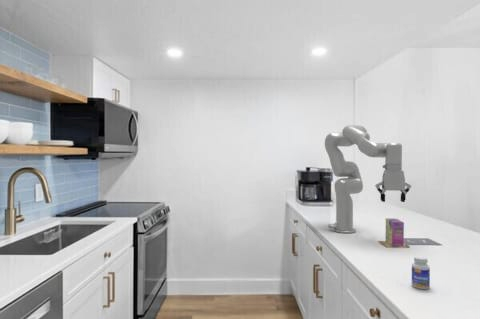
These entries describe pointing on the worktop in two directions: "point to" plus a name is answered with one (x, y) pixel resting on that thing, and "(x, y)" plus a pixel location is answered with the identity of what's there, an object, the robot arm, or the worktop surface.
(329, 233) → the worktop surface
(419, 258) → the pill bottle
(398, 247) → the wooden pad
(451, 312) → the worktop surface
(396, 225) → the box
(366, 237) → the worktop surface
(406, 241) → the tile
